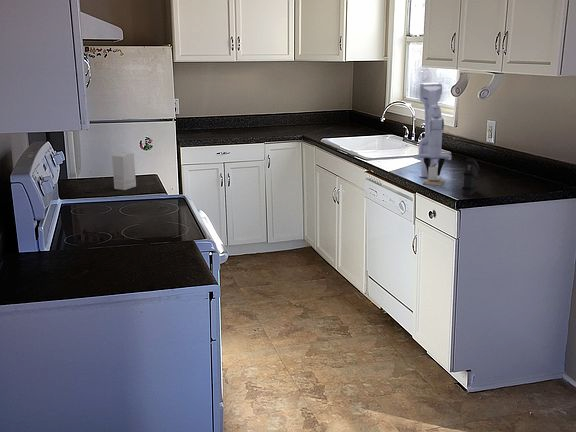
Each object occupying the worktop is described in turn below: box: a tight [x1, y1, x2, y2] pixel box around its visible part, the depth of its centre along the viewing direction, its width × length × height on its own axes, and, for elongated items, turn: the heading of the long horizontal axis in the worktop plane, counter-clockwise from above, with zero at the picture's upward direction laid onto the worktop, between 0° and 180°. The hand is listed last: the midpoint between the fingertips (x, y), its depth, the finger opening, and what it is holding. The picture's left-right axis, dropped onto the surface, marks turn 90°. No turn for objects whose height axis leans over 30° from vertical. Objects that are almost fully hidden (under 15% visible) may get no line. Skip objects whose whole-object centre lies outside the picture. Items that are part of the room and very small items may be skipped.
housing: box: [427, 164, 440, 180], centre depth 298 cm, size 6×4×7 cm, turn 158°
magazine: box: [461, 158, 481, 197], centre depth 278 cm, size 4×13×15 cm, turn 151°
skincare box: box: [111, 152, 137, 191], centre depth 297 cm, size 8×7×16 cm
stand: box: [422, 177, 445, 187], centre depth 299 cm, size 8×8×2 cm
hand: (433, 174), depth 299 cm, fingers closed on housing, 4 cm apart
